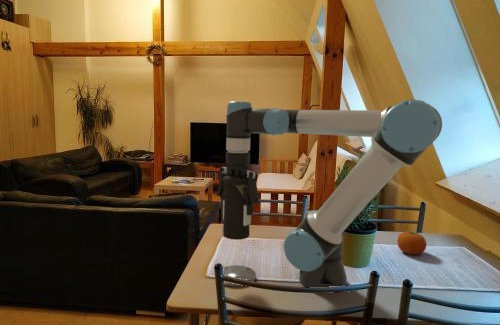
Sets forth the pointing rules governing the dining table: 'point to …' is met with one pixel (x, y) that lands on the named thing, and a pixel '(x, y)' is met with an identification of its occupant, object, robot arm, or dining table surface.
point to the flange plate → (239, 273)
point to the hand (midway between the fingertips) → (236, 221)
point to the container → (234, 208)
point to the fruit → (411, 243)
